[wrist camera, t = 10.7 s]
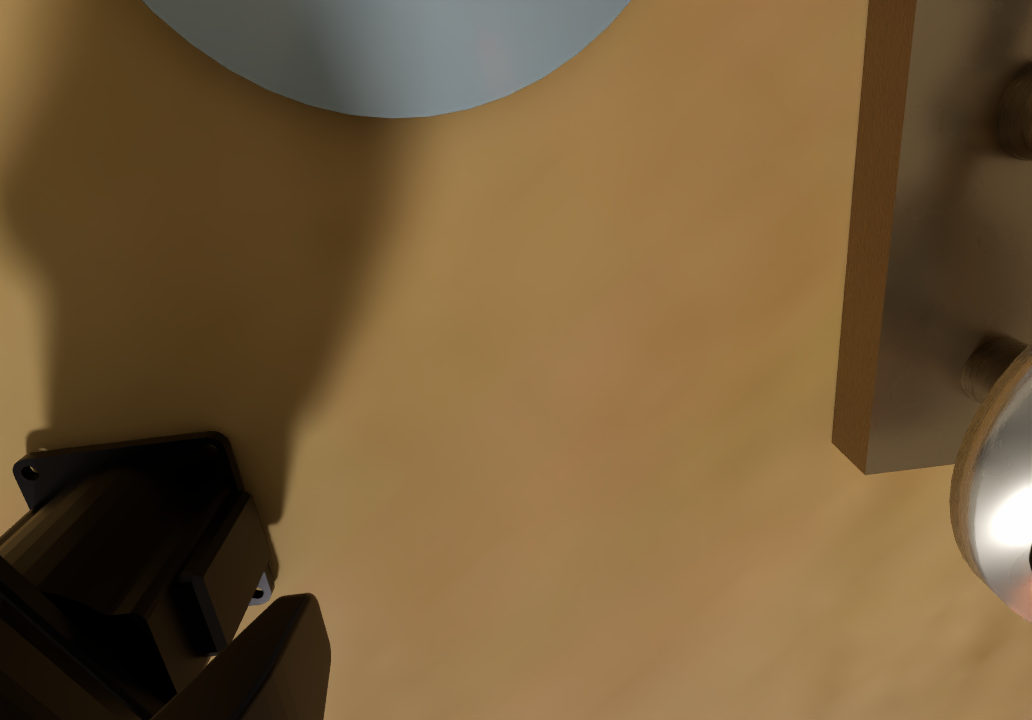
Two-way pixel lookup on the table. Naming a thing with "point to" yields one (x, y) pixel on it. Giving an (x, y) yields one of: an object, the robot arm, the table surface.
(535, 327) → the table surface
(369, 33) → the dish
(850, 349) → the balance
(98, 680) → the robot arm
